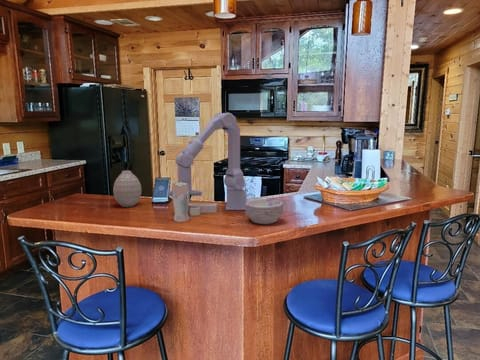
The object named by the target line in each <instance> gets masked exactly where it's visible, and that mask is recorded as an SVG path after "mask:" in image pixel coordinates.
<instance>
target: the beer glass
mask: <svg viewBox="0 0 480 360" xmlns="http://www.w3.org/2000/svg"><path fill="white" fill-rule="evenodd" d="M171 191H172V196H171V198H172V203H173V209H174V216H173V221H174V222H177V223H183V222H188V221H189V220H190V218H189V213H188V205H189V203H190V202H189V197H190V193H189V183H178V182H174V183H172V190H171Z"/></svg>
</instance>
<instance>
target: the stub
mask: <svg viewBox="0 0 480 360" xmlns="http://www.w3.org/2000/svg"><path fill="white" fill-rule="evenodd" d="M200 215H201V213H200V206H191V208H190V213H189V216H198V217H199V216H200Z"/></svg>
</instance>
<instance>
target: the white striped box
mask: <svg viewBox="0 0 480 360" xmlns="http://www.w3.org/2000/svg"><path fill="white" fill-rule="evenodd" d="M191 206H200V214H203V213H204V214H206V213H207V214H208V213H210V214H212V213H214V214H216V213H217V211H218V203H217V202H189V205H188V214H190V208H191Z"/></svg>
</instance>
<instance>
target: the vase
mask: <svg viewBox="0 0 480 360" xmlns="http://www.w3.org/2000/svg"><path fill="white" fill-rule="evenodd" d="M112 189H113V191H112V192H113V197H114V198H115V201H116V202H117V204H119V205H120V207H124V208H131V207H134V206H136V205H137V204H138V202H139V201H140V200H141V195H142V184H141V182H140V180H139V178H138V177H137V175H135V174H134V173H132V171H131V170H122V171H121V173H120V174H119V175H118V177H116V179H115V181H114V183H113V188H112Z"/></svg>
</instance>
